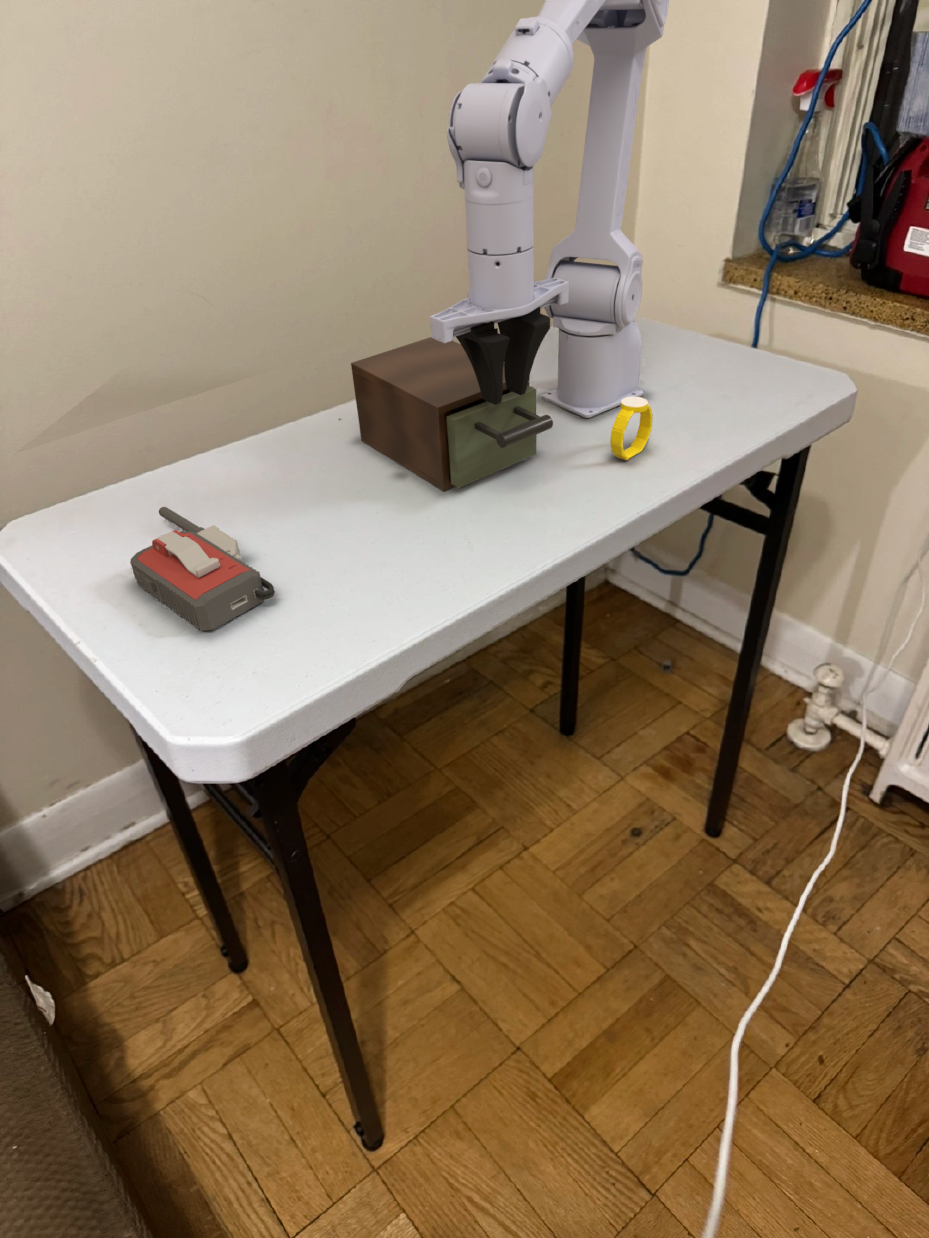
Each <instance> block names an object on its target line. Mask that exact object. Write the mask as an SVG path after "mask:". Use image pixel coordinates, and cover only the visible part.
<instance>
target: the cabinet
mask: <svg viewBox="0 0 929 1238" xmlns="http://www.w3.org/2000/svg"><path fill="white" fill-rule="evenodd" d="M350 368H351V374H352V375H351V376H352V381H353V389H354V396H355V404H356V410H357V412H356V413H357V418H358V426H359V433H360V441H361V442H363V443H364V444H366V445H367V446H369V447H370V448H371V449H374V450H375V451H377V452H379V453H381V454H382V455H384V456H385V457H387V458H388V459H390V460H392V461H393V462H395V463H397V464H398V465H400V466H401V467H403V468H405V469H406V470H408V471H409V472H411V473H413V474H415V475H416V476H418V477H419V478H421V479H422V480H424V481H425V482H427V483H429V484H431V485H432V486H434V487H435V488H437V489H439V490H440V491H442V492H446V491H449V490H452V489H454V488H457V487H456V486H454V485H452V484H451V473H450V474H449V469H448V455H447V441H446V426H445V413H446V412H449V411H451V410H454V409H457V408H459V407H462V406H464V405H467V404H470V403H472V402H475V401H478V400H480V399H483V398H482V395H481V391H480V387H479V384H478V381H477V378H476V375H475V372H474V369H473V367H472V364H471V362H470V360H469V358H468V356H467V354H466V352H465V350H464V349H463V347H462V345H461V344H460V342H457V341H454V340H453V341H451V342H448V343H442V342H440V341H437V340H435V339H433V338H431V336H430V337H426V338H423V339H421V340H418V341H414V342H412V343H408V344H406V345H402V346H399V347H396V348H393V349H390V350H386V351H383V352H381V353H378V354H373V355H370V356H368V357H365V358H362V359H359V360H356V361H352V362H350ZM530 378H531V375H530V376H529V380H528V384H527V386H531V384H530V383H531V382H530V380H531V379H530ZM504 390H507V387H506V382H505V372H504V366H503V391H504Z"/></svg>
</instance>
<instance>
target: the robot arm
mask: <svg viewBox="0 0 929 1238" xmlns="http://www.w3.org/2000/svg"><path fill="white" fill-rule="evenodd" d="M669 5H670V0H544V2H543V4H542V5H541V8H540V9H539V11H538V14H537V16H531V17H525V18H523V17H522V18H520V19H519V20H518V22H517V23H516V24H515V26H514V29H513V30H512V32H511V34H510V35H509V36H508V38H507V40H506V41H505V43H504V44H503V46H502V48H501V49H500V51H499V52H498V54H497V56H496V57H495V58H494V60H493V62H492V63H491V65H490V67H488V69H487V70H486V72H485V74H484V76H483V77H482V79H481V80H480V81H479V82H470V83H468V84H466V85H465V87H464V88H463V89H462V90H460V91H458V93H456V95H455V96H454V98H453V100H452V101H451V106H450V108H449V115H448V127H447V129H446V137H447V138H446V139H447V144H448V148H449V151H450V154H451V156H452V158H453V160H454V162H455V169H456V180H457V181H456V183H458V187H459V188H460V189H462V190H464V211H465V229H466V248H467V249H466V251H467V273H468V290H467V291H466V295H467V296H466V297H465V298H464V299H463V298H462V300H460V301H458V302H457V303H455V304H453V305H451V306H449V307H448V308H446V309H444V310H442V311H440V312H438V313H435V314H432V315H429V327H430V337H431V338H433V339H435V340H437V341H440V342H442V343H448V342H451V341H454V338H456V339H457V341H458V343H459V344H461V345H462V347H463V349H464V350H465V352H466V354H467V356H468V358H469V360H470V362H471V364H472V367H473V369H474V372H475V375H476V378H477V381H478V384H479V387H480V391H481V395H482V398H483V399H484V400H486V401H488V402H490V403H492V404H494V405H497V404H499V403H501V400H502V394H503V366H504V372H505V382H506V387H507V389H508V390H510V391H512V392H514V393H516V394H519V395H523V394H525V392H526V388H527V384H528V380H529V376H530V377H531V373H532V370H533V369H532V368H533V366H534V363H535V359H536V356H537V354H538V351H539V349H540V347H541V345H542V342H543V341H544V339H545V337H546V336H547V334H548V332H549V331H550V329H551V319H553V321H552V322H553V325H552V326H553V328H557V329H558V345H557V348H558V351H557V353H558V354H557V388H554V389H552V390H550V391H547V392H545V393H543V394H541V399H543V400H545V401H547V402H548V403H551V404H554V405H556V406H558V407H560V408H562V409H565V410H566V411H569V412H571V413H574V414H575V415H577V416H581V417H583V418H585V419H591V418H592V417H595V416H597V415H599V414H602V413H604V412H606V411H608V410H612V409H614V408H616V407H618V406H621V400H622V399H623V398H626V397H633V396H634V397H642V396H644V390H642V389H641V388H639V387H640V386H639V385H640V374H641V373H640V372H641V361H642V346H643V341H642V335H641V331H640V329H639V326H638V324H637V323H636V322H635V318H636V317H637V314H638V313H639V309H640V306H641V301H642V294H643V277H642V276H643V275H642V274H643V263H644V261H643V254H642V253H641V251H640V250H639V249H638V247H636V245H635V244H634V243H633V242H632V241H631V240H630V239H629V238H628V237H627V236H626V235H625V233H623V231H622V225H623V217H624V212H625V211H624V210H625V203H626V196H627V195H626V194H627V188H628V180H629V175H630V174H629V173H630V165H631V157H632V150H633V142H634V137H635V136H634V135H635V129H636V120H637V113H638V106H639V100H640V91H641V83H642V77H643V71H644V65H645V60H646V54H647V50H648V47H649V46H651V45H652V44H654V43H655V42H657V41H658V40H660V39H661V38H662V37H663V36H664V30H665V24H666V22H667V19H668V11H669ZM576 41H580V42H581V43H583V44H585V45H587V46H588V47H589V48H590V50H591V53H592V55H593V68H592V75H591V85H590V95H589V102H588V111H587V120H586V130H585V137H584V138H585V139H584V147H583V157H582V164H581V172H580V180H579V182H580V183H579V190H578V191H579V192H578V200H577V208H576V218H575V227H574V230H573V231H572V232H571V233H569V234H568V235H566V236H565V237H564V238H562V239H561V240H560V241H558V242H557V243H556V244H555V245H554V246H553V247H552V248H551V252H550V257H549V262H548V266H547V267H548V268H547V271H546V273H545V276H544V278H543V279H542V280H537V281H535V246H534V245H535V224H534V223H535V222H534V221H535V213H534V212H535V211H534V210H535V209H534V208H535V207H534V206H535V204H534V203H535V195H534V194H535V193H534V189H535V186H534V184H535V183H534V182H535V181H534V179H535V177H534V175H535V174H534V173H535V172H534V169H535V168H534V166H535V165H536V164H537V163H538V161H539V160H540V159H541V157H542V155H543V152H544V149H545V145H546V140H547V133H548V128H549V126H550V123H551V119H552V115H553V114H552V106H553V104H554V102H555V101H556V99H557V97H558V95H559V94H560V93H561V91H562V89H563V87H564V86H565V83H566V82H567V80H568V79H569V77H570V75H571V73H572V71H573V68H574V62H575V56H574V55H575V54H574V49H573V46H574V43H575V42H576ZM578 258H580V259H589V260H599V261H608V262H612V263H614V264H615V265H613V264H603V263H594V262H593V263H592V262H584V261H576V260H577V259H578ZM543 308H544V310H545V313H546V314H544V313H541V309H543ZM496 324H497V327H498V328H497V327H496V328H495V325H496Z"/></svg>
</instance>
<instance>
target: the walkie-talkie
mask: <svg viewBox="0 0 929 1238" xmlns="http://www.w3.org/2000/svg"><path fill="white" fill-rule="evenodd" d="M158 514H159V516H160V517H162V518H163V519H165V520H166V521H168V522H169V523H172V524H173V525H174V526H176V527H178V528H179V529H181V531H179V530H177V529H173V530H171V531H169V532H168V533H165V534H163V535H161V536H158V537H156V538H155V539H153V540H151V545H149V546H148V547H145V548H143V549H141V550H140V551H138V552H136V553H135V554H134V555H133V556H132V557H131V558H130V561H129V564H130V566H131V568H132V573H133V575H134V578H135V580H136V582H137V585H138V586H139V587H141V588H142V589H144V590H145V591H147V592H148V593H149V594H150V595H152V596H153V597H155V598H156V599H157V600H159V602H162V603H163V604H165V605H166V606H168V608H170V609H171V610H172V611H174V612H175V613H176V614H178V615H179V616H180V617H181V616H182V618H184V619H186V621H188V622H189V623H190V624H193V626H194V627H196V628H197V629H200V631H213V630H216V629H218V628H219V627H221V626H223V625H224V624H226V623H228V622H230V621H231V620H234V619H235V618H237V617H238V616H240V615H242V614H244V613H245V612H248V611H249V610H251V609H252V608H254V607H256V606H258V605H259V604H261V603H263V602H264V600H265V601H266V600H268V599H271V598H273V597H274V596H275V593H276V591H275V586H274V585H273V584H272V583H271V582H270V581H268V580H267V579H265V578H263V577H262V576H261V574H260V571H257V569H255V568H253V567H252V566H250V565H249V564H246V563H245V562H244V561H243V558H242V555H241V553H240V549H239V545H238V540H236V539H235V538H233V537H231V536H230V535H228V534H227V533H225V532H223V531H222V530H220V528H219V527H218V526H216V525H214V524H213V525H210V526H208V527H206V528H204V527H203V526H199V525H196V524H195V523H193V522H192V521H190V520H188V519H187V518H185V517H184V516H182V515H180V514H178V513H177V512H175V511H174V510H172V509H170V508H169V507H167V506H162V507H160V508H159V509H158ZM264 588H265V589H266V590H264Z"/></svg>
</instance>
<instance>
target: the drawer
mask: <svg viewBox="0 0 929 1238" xmlns="http://www.w3.org/2000/svg"><path fill="white" fill-rule="evenodd" d="M445 426H446V441H447V455H448V469H449V474H450V473H451V484H452V485H454V486H456V487H455V488H458V489H459V488H461V487H464V486H467V485H469V484H472V483H474V482H475V481H478V480H480V479H482V478H485V477H488V476H490V475H492V474H495V473H496V472H499V471H501V470H504V469H506V468H508V467H511V466H513V465H516V464H517V463H520V462H522V461H524V460H527V459H529V458H532V457H534V456H536V455H537V435H538V434H541V433H543V432H546V431H549V430H551V429H552V428H553V427H554V421H553V418H552V417H551V416H550V414H544V415H538V414H537V388H535V387H533V386H531V385H530V386H527V388H526V392H525V394H523V395H519V394H516V393H514V392H512V391H510V390H508V389H507V390H504V391H503V394H502V400H501V403H499V404H497V405H494V404H492V403H490V402H488V401H486V400H484V399H480V400H478V401H475V402H472V403H470V404H467V405H464V406H462V407H459V408H457V409H454V410H451V411H449V412H446V413H445Z"/></svg>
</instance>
